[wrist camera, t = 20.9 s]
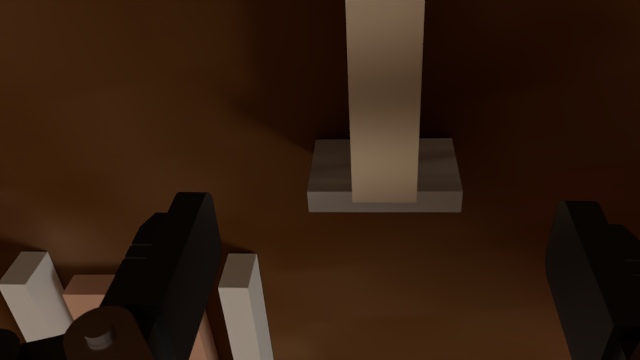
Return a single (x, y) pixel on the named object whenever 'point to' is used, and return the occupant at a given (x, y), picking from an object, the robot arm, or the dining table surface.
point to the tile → (91, 291)
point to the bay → (54, 319)
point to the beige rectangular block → (384, 123)
